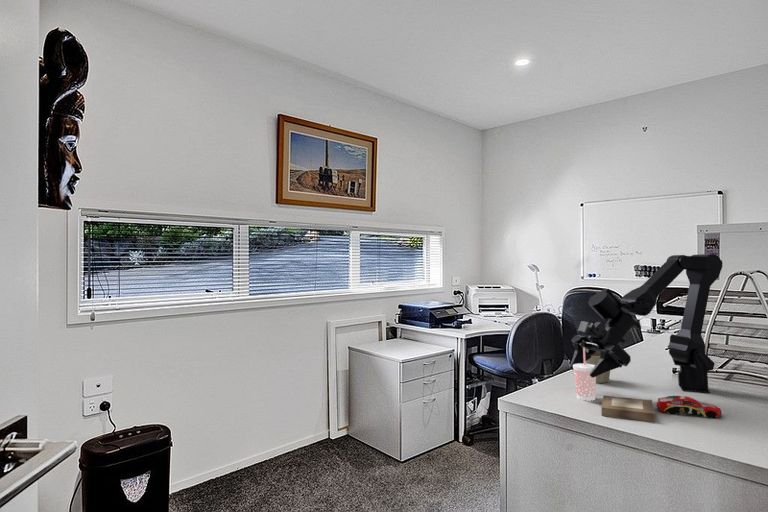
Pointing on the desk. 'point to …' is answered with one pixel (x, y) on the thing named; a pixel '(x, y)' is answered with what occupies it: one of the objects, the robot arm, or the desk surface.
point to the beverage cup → (584, 380)
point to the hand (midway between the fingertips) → (580, 372)
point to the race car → (687, 407)
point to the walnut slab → (627, 408)
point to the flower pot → (593, 360)
